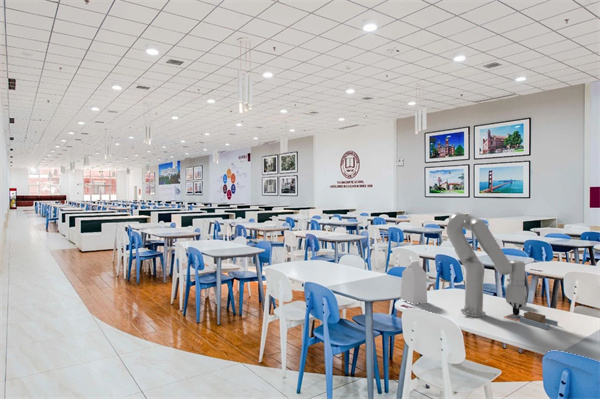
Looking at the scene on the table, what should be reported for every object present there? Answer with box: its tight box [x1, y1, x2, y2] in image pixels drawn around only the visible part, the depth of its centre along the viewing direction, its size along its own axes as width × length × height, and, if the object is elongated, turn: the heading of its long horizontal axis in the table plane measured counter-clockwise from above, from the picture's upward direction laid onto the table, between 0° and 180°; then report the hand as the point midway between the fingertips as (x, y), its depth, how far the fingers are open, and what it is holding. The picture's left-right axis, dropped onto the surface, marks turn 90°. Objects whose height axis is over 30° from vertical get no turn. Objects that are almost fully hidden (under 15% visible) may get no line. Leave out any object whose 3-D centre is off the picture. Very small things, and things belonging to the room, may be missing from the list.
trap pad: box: [503, 313, 524, 322], centre depth 218 cm, size 11×8×1 cm
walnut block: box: [523, 310, 547, 324], centre depth 209 cm, size 6×8×5 cm
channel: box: [519, 317, 559, 331], centre depth 208 cm, size 11×14×2 cm
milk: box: [399, 260, 428, 305], centre depth 247 cm, size 12×12×26 cm
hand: (516, 314), depth 217 cm, fingers closed
